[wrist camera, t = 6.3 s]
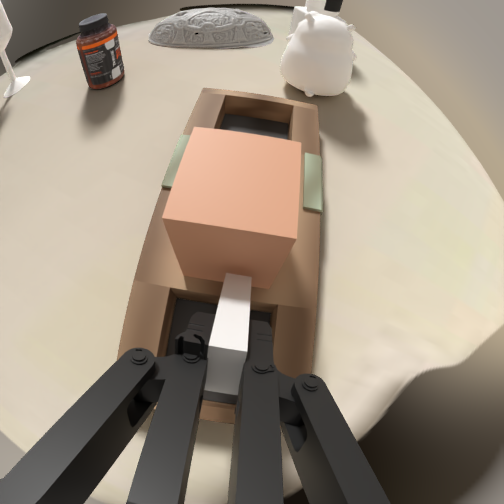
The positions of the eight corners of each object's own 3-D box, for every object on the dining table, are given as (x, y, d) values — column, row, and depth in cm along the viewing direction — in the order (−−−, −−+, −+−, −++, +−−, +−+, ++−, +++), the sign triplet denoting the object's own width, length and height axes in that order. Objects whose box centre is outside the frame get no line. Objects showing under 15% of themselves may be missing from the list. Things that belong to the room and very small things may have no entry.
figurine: (342, 117, 33) (373, 42, 22) (269, 96, 33) (284, 15, 22) (343, 82, 37) (367, 20, 26) (282, 65, 37) (296, -1, 26)
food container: (282, 51, 38) (286, 17, 33) (134, 59, 37) (128, 26, 31) (273, 29, 46) (275, 2, 40) (155, 34, 45) (152, 8, 39)
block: (183, 275, 20) (161, 217, 12) (200, 202, 22) (194, 126, 15) (269, 289, 20) (296, 238, 12) (277, 214, 22) (301, 142, 15)
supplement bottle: (130, 78, 33) (118, 13, 23) (93, 96, 31) (74, 31, 21) (119, 65, 34) (108, 7, 24) (85, 81, 33) (69, 23, 22)
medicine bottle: (318, 36, 44) (331, -11, 33) (338, 52, 42) (355, 1, 31) (287, 35, 42) (298, -16, 31) (306, 51, 40) (321, -5, 29)
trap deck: (125, 394, 18) (109, 397, 15) (203, 107, 31) (203, 85, 28) (295, 421, 19) (307, 429, 16) (312, 124, 31) (320, 103, 28)
